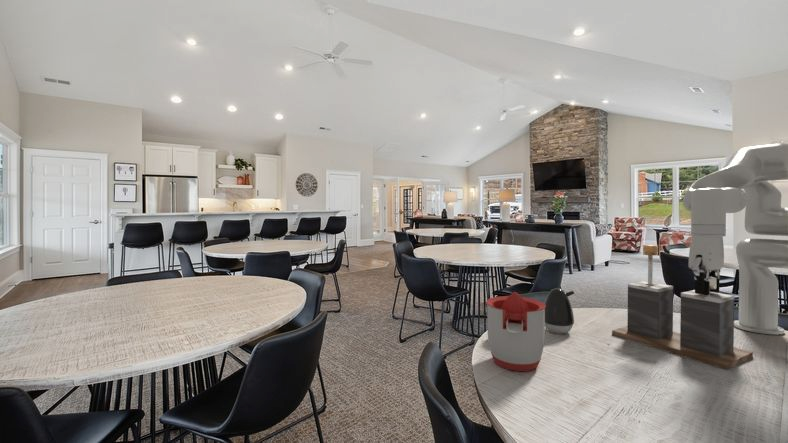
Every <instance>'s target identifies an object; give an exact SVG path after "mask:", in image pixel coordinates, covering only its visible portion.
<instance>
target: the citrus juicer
mask: <svg viewBox="0 0 788 443" xmlns="http://www.w3.org/2000/svg"><path fill="white" fill-rule="evenodd" d="M485 303H486V307H487V310H486V311H487V313H486V317H487V318H486V319H487V341H488V345H489V350H490V354H491V357H492V360H493V361H494V363H495V364H496V365H497V366H499V367H500V368H504V369H506V370H510V371H511V370H512V371H518V372H531V371H532V370H534V369H536V368H538V367H539V364H540V363H541V362H540V361H541V359H542V355H543V352H544V348H545V347H544V346H545V335H546V333H545V330H546V327H545V308H546V305H545V304H544V303H545V302H543V301H540V300H537V299H534V298H530V297H529V298H528V297H524V296H521V295H520V294H519V293H518V292H516V291H513V292H511V294H510V295H509V296H505V295H504V296H495V297H491V298H488V299H487V300H486V302H485Z"/></svg>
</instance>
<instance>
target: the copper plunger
mask: <svg viewBox="0 0 788 443" xmlns="http://www.w3.org/2000/svg"><path fill="white" fill-rule="evenodd" d="M642 255H644V256H647V282H648V285H649V286H652V283H653V276H654V275H653V274H654V273H653V265H654V264H653V262H654V260H653V259H654V258H653V257H654V256H659V245H656V244H655V245H653V244H643V245H642Z"/></svg>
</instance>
